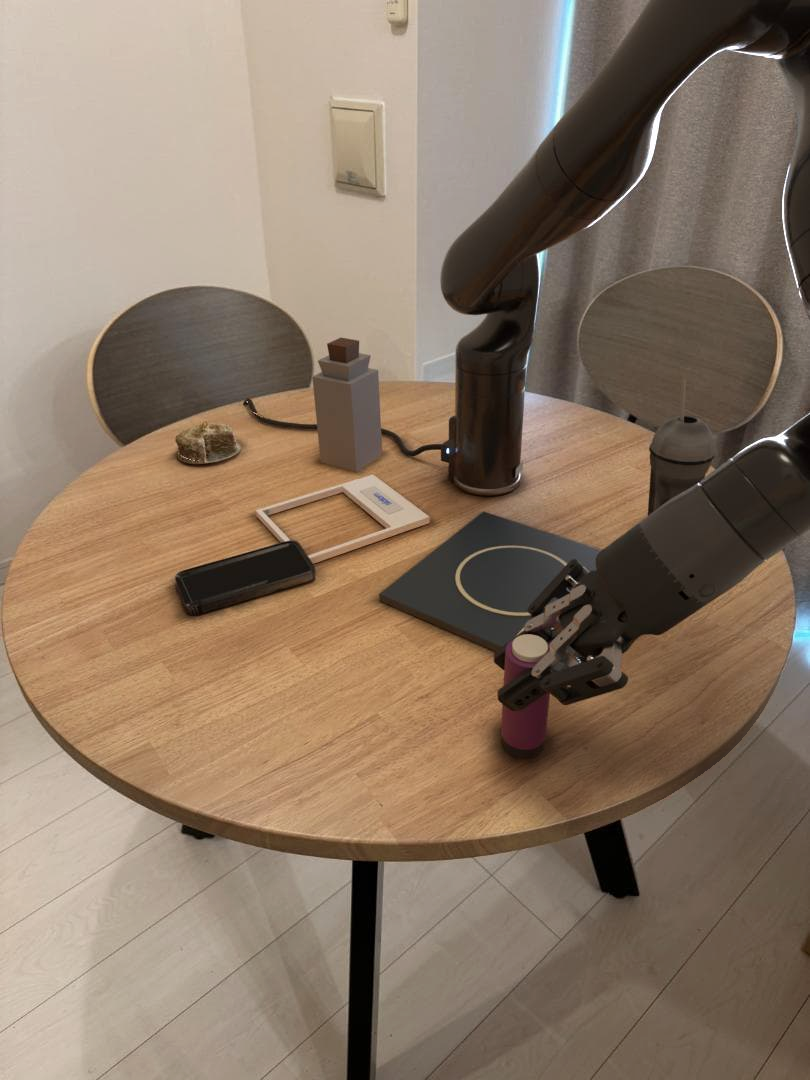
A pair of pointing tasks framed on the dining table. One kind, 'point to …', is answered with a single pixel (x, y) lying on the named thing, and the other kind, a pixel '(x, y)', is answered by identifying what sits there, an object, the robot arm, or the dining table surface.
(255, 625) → the dining table surface
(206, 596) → the phone
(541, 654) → the dot marker
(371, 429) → the perfume bottle
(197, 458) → the cake
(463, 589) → the slate board
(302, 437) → the dining table surface
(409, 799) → the dining table surface
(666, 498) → the beverage cup
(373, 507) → the photo frame
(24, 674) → the dining table surface
